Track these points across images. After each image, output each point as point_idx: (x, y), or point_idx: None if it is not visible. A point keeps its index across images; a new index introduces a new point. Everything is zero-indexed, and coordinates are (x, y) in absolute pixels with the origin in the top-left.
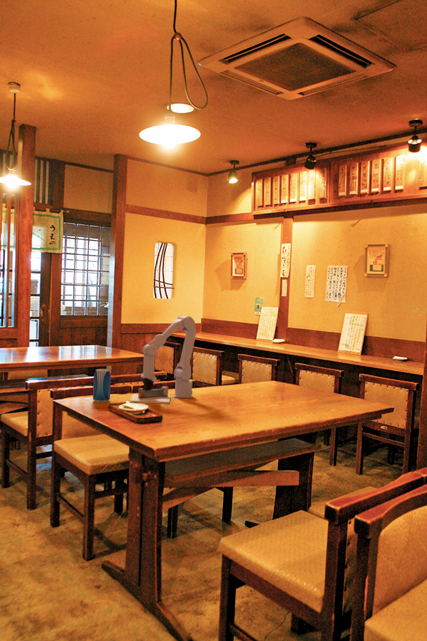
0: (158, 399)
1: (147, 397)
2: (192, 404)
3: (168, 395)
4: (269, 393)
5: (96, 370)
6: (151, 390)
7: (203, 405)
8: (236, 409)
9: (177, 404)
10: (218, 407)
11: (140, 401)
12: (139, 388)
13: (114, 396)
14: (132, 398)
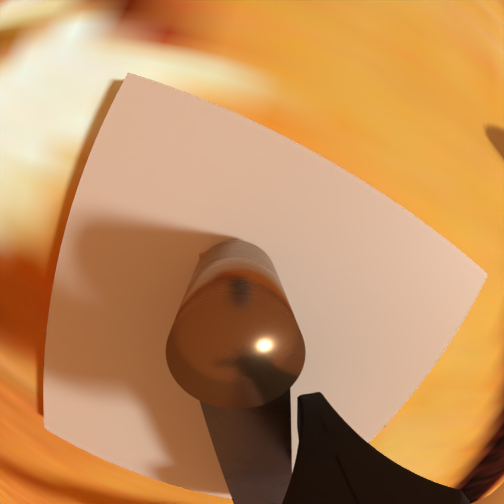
0: (128, 417)
1: None
2: (59, 482)
3: None
4: None
5: None
6: (221, 464)
7: (49, 491)
8: (18, 499)
9: (43, 441)
10: (29, 494)
11: (73, 210)
12: (274, 331)
13: (487, 81)
14: (253, 150)
